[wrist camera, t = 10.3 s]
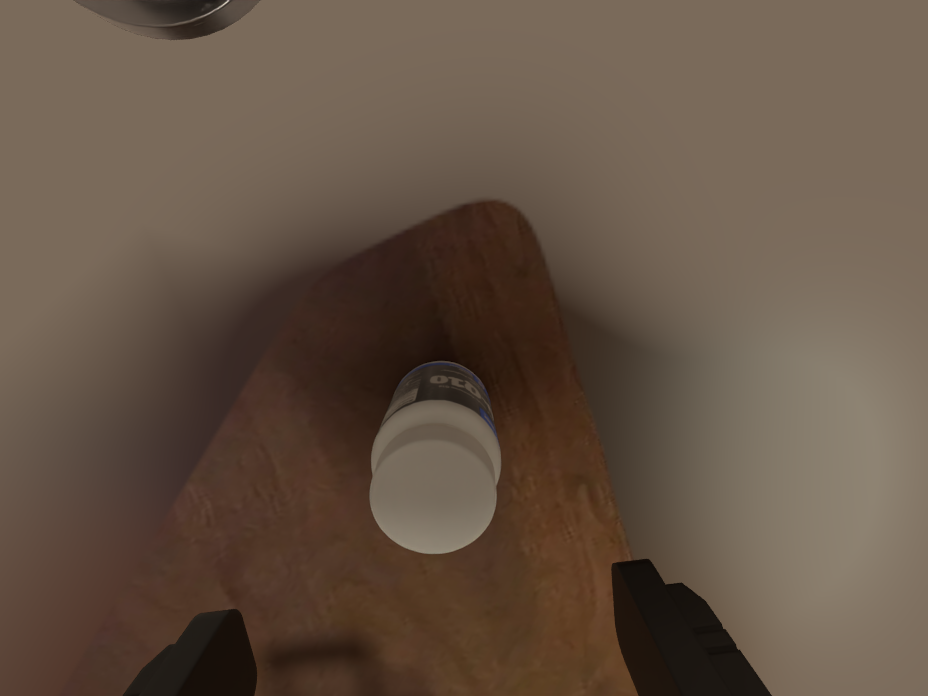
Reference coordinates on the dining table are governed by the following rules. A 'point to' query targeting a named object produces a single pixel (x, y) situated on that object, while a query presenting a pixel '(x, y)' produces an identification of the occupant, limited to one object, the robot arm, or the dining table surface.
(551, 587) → the dining table surface
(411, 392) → the pill bottle
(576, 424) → the dining table surface
